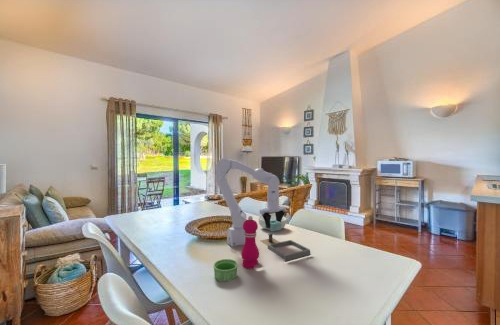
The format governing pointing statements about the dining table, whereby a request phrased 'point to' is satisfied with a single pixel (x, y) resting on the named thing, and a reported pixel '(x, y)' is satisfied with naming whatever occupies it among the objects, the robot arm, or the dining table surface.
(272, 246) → the tray
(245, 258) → the pepper mill
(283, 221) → the cereal bowl
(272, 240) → the stake board
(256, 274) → the dining table surface
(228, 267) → the ramekin
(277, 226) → the collar
